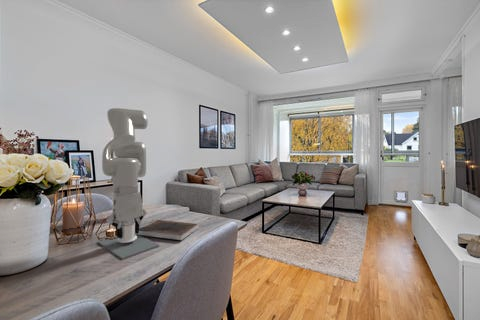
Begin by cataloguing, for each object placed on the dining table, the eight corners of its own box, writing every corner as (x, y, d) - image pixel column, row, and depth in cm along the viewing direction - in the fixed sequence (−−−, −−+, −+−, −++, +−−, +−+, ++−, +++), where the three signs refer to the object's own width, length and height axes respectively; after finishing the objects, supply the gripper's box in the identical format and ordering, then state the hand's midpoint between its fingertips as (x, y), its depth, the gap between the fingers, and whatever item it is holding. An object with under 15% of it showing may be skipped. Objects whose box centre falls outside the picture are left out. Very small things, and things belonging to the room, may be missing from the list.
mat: (97, 242, 89) (97, 241, 89) (132, 233, 100) (132, 231, 100) (122, 259, 76) (122, 258, 76) (159, 246, 87) (159, 244, 87)
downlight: (119, 236, 91) (118, 212, 91) (137, 234, 94) (137, 211, 93) (115, 245, 84) (115, 219, 83) (136, 242, 86) (135, 217, 86)
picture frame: (136, 235, 96) (181, 241, 91) (136, 229, 96) (181, 235, 91) (158, 224, 112) (198, 228, 107) (158, 219, 112) (198, 223, 107)
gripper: (107, 194, 78) (108, 244, 79) (152, 188, 92) (153, 231, 93) (99, 192, 83) (100, 239, 84) (143, 186, 96) (143, 227, 97)
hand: (127, 234), depth 88 cm, fingers closed on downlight, 5 cm apart
